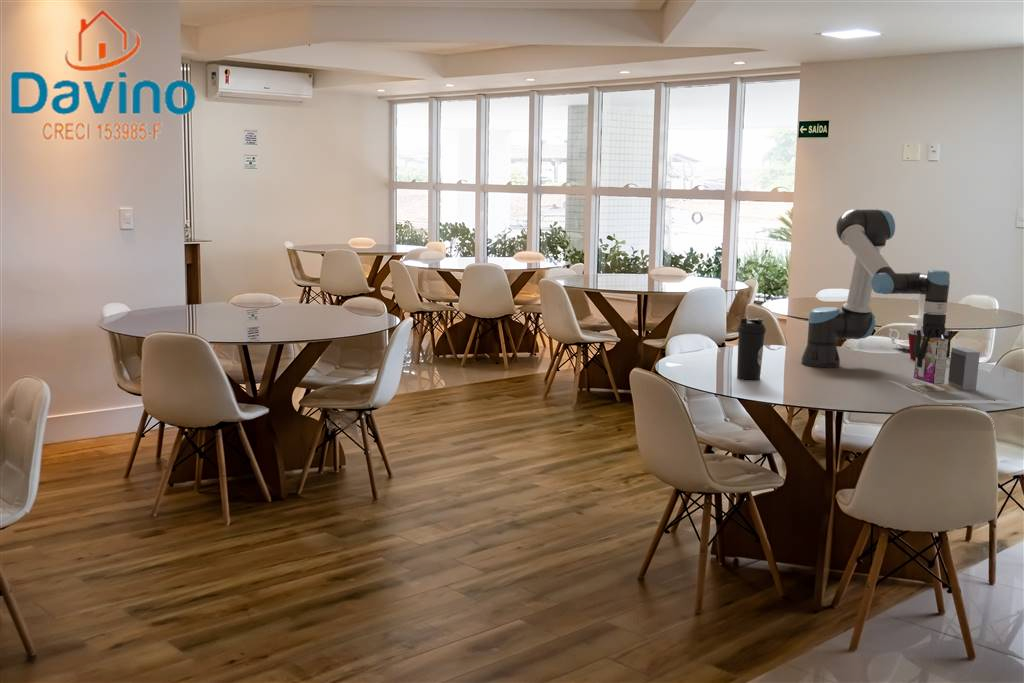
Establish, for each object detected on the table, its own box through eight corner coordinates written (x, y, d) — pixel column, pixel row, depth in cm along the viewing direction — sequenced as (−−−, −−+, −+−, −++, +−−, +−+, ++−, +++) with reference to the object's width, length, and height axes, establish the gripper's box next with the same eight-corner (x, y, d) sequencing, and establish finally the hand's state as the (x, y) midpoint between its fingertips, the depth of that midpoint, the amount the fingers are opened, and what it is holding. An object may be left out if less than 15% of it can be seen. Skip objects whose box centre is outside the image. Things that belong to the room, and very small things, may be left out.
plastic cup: (929, 363, 421) (932, 335, 419) (902, 360, 426) (905, 332, 424) (933, 359, 430) (936, 332, 428) (906, 356, 435) (909, 329, 433)
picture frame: (923, 393, 356) (923, 390, 356) (906, 386, 369) (906, 383, 369) (979, 394, 358) (979, 390, 358) (959, 386, 371) (960, 383, 371)
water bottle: (760, 382, 370) (764, 320, 366) (732, 379, 373) (736, 319, 369) (763, 377, 379) (767, 317, 375) (736, 375, 382) (740, 315, 379)
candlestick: (894, 344, 469) (900, 285, 465) (949, 351, 453) (955, 290, 449) (878, 349, 454) (883, 288, 449) (934, 356, 438) (940, 293, 433)
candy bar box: (912, 378, 367) (917, 334, 365) (924, 378, 369) (928, 334, 366) (933, 384, 357) (937, 339, 354) (944, 384, 358) (949, 339, 355)
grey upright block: (961, 390, 359) (965, 352, 357) (947, 384, 369) (950, 347, 367) (975, 390, 360) (979, 352, 357) (961, 384, 369) (964, 347, 367)
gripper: (915, 314, 354) (909, 378, 358) (965, 314, 356) (958, 378, 360) (905, 311, 361) (899, 374, 365) (954, 312, 363) (947, 374, 367)
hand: (929, 376), depth 362 cm, fingers closed on candy bar box, 6 cm apart
